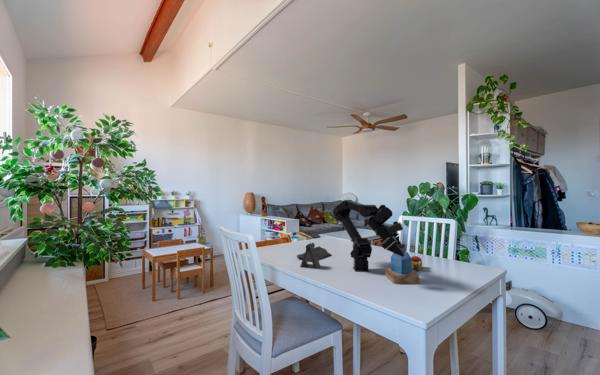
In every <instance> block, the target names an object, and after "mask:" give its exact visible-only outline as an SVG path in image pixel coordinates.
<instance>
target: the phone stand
mask: <svg viewBox="0 0 600 375" xmlns="http://www.w3.org/2000/svg"><path fill="white" fill-rule="evenodd" d="M315 248H316V247H315V243H314V242H309V243H308V244H306V245H305V252H304V253H305V254H304V257H303V259H301V264H300V268H305V269H316V270H317V269H318V268H320V266H321V263H320V260H318V257H317V254H316V251H315ZM309 255H311V259H312V262H311V263H312V264H311V263H308V262H309V261H308V259H309Z"/></svg>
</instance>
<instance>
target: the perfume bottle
mask: <svg viewBox="0 0 600 375" xmlns="http://www.w3.org/2000/svg"><path fill="white" fill-rule="evenodd" d="M397 245H398V247H399V248H400V249H401V251H402V252H403V254H404V256H403V257H402V256H400V255H397V254H395V253H393V252H392V254H391V256H390V268H391V271H394V272H397V273H400V274H405V273H410V272H411V257H412V256H410V255H411V254H409V253H408V252H407V251H405V252H404V250H406V247H405V243H404V244H402V243H401V244H397Z"/></svg>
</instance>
